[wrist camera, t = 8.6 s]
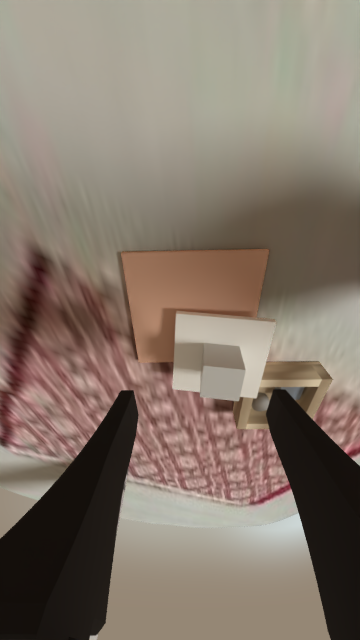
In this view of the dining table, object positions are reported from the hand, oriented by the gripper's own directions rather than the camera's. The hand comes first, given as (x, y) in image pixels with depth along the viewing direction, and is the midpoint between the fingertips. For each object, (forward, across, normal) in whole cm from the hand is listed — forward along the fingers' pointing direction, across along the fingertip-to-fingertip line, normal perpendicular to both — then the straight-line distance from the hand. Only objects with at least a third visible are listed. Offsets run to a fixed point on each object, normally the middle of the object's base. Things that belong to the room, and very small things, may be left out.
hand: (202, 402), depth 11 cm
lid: (+8, -2, +3) cm, 9 cm away
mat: (+9, 0, 0) cm, 9 cm away
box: (+9, -9, +10) cm, 16 cm away
